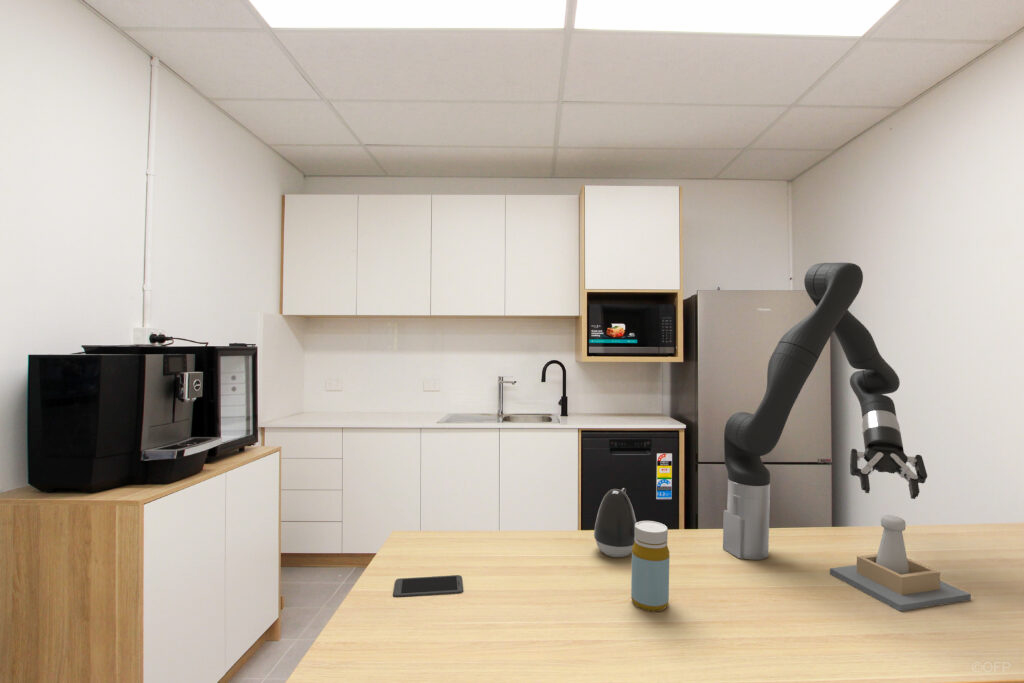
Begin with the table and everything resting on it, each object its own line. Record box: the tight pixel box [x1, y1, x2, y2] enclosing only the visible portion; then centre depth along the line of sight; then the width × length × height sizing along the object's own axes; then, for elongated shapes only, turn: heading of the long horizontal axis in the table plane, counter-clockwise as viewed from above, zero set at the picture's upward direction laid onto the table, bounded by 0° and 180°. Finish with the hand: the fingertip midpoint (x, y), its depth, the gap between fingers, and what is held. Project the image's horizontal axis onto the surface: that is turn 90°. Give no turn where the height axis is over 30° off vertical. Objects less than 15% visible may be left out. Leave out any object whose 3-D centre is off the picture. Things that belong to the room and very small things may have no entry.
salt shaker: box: [876, 514, 909, 575], centre depth 112 cm, size 6×6×13 cm
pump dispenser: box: [593, 487, 637, 558], centre depth 126 cm, size 10×10×15 cm
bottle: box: [630, 520, 670, 612], centre depth 103 cm, size 7×7×15 cm
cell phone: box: [392, 574, 465, 598], centre depth 109 cm, size 7×14×1 cm, turn 98°
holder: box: [829, 553, 972, 612], centre depth 111 cm, size 18×16×5 cm
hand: (890, 494), depth 118 cm, fingers open, 8 cm apart
